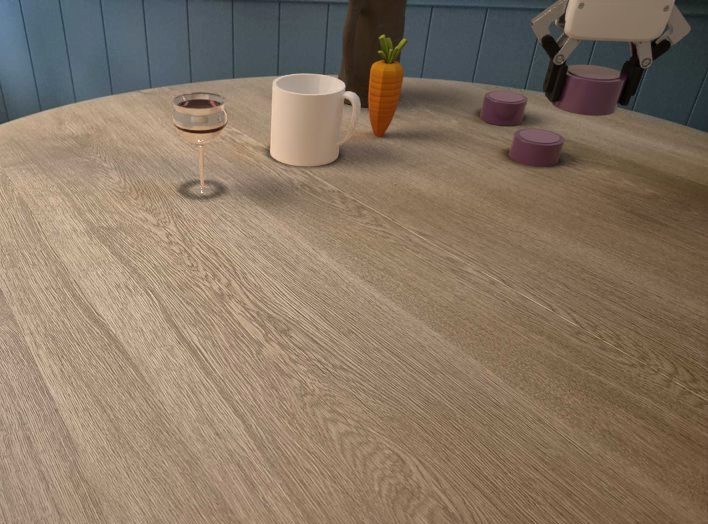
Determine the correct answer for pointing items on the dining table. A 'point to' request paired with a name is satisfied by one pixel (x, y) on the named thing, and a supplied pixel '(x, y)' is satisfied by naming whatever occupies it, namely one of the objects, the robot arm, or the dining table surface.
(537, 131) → the dish
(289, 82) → the mug
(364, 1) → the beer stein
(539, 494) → the dining table surface
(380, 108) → the carrot
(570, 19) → the robot arm
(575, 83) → the dish
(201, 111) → the wineglass
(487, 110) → the dish
